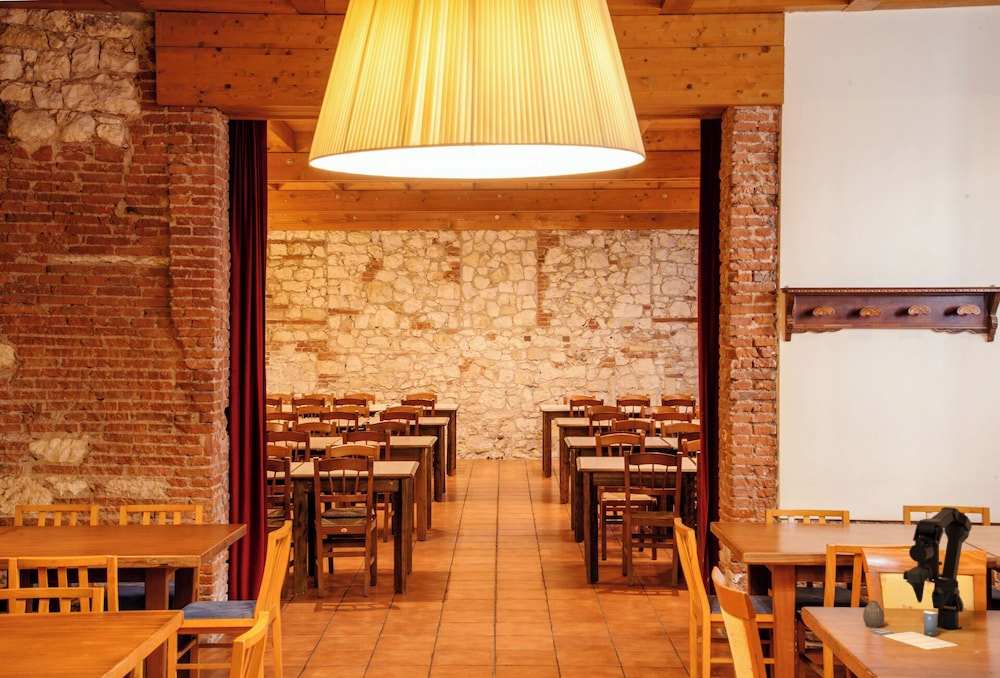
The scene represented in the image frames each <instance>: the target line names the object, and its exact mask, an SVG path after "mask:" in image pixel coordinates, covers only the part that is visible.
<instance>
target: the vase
mask: <svg viewBox="0 0 1000 678" xmlns="http://www.w3.org/2000/svg"><path fill="white" fill-rule="evenodd" d="M862 619H863V623H864V625H866V626H867V627H868V628H873V629H877V628H880V627H882V626H883V624H884V621H885V613H884V610H883V608H882V607H881V606H880V604H879V602H878V601H877V600H869V602H868V604H867V605H866V606H865V608H864V609H863V613H862Z"/></svg>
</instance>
